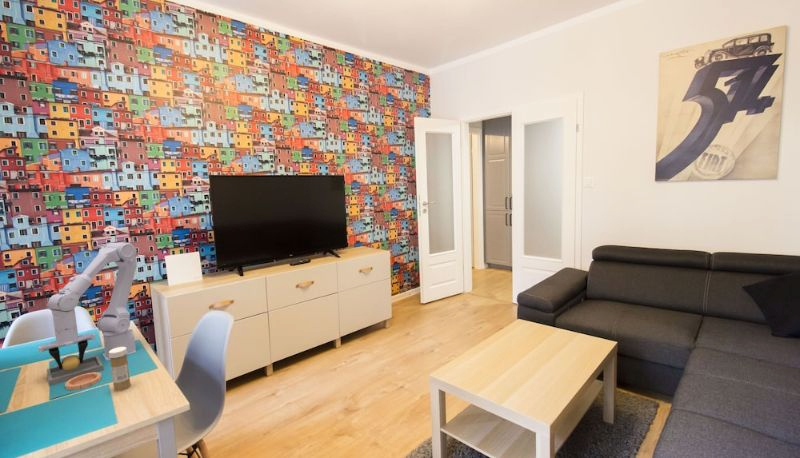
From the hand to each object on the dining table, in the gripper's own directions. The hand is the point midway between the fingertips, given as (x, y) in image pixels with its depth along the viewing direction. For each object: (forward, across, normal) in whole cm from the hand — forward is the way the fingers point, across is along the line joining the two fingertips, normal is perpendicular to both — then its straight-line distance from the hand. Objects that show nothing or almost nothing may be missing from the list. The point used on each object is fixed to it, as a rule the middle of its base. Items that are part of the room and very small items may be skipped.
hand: (70, 365), depth 130 cm
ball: (+2, 0, 0) cm, 2 cm away
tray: (+3, +1, 0) cm, 4 cm away
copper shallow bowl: (+3, +2, -12) cm, 13 cm away
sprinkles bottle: (+4, +10, -26) cm, 28 cm away
